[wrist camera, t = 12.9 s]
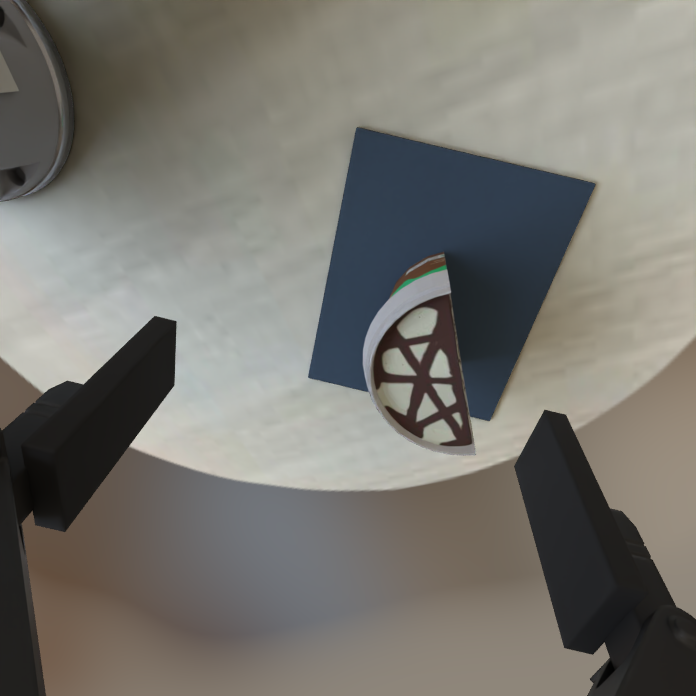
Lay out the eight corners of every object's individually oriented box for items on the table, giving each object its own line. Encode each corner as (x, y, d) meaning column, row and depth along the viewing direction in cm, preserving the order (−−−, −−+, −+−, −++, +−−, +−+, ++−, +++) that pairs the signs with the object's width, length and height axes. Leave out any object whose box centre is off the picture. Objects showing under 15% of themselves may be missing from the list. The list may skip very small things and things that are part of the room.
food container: (356, 248, 35) (336, 302, 26) (440, 231, 34) (449, 282, 25) (389, 387, 41) (382, 470, 32) (463, 377, 39) (477, 461, 31)
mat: (308, 375, 41) (308, 377, 41) (356, 127, 32) (356, 127, 31) (489, 418, 41) (489, 421, 41) (594, 182, 31) (596, 183, 31)
